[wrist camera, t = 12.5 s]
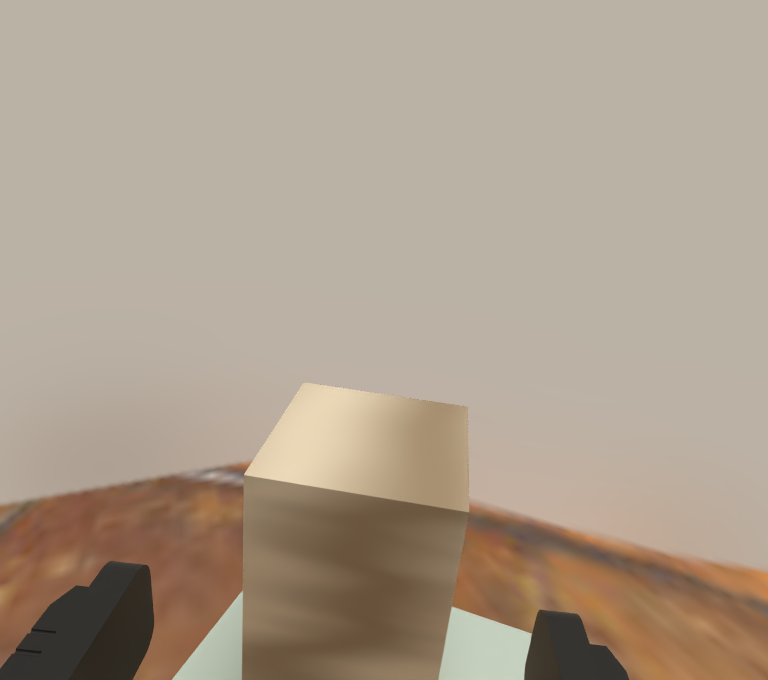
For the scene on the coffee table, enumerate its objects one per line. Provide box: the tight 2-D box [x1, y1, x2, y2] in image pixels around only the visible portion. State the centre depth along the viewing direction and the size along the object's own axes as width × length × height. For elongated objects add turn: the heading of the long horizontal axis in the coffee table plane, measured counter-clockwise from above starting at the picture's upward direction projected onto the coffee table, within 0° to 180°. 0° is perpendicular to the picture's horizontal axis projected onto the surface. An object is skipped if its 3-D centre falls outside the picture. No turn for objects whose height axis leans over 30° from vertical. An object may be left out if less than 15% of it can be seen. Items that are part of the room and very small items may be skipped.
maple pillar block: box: [242, 383, 469, 680], centre depth 16 cm, size 5×5×10 cm
